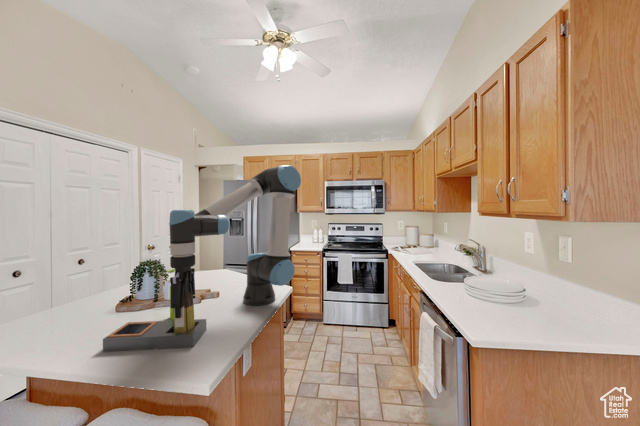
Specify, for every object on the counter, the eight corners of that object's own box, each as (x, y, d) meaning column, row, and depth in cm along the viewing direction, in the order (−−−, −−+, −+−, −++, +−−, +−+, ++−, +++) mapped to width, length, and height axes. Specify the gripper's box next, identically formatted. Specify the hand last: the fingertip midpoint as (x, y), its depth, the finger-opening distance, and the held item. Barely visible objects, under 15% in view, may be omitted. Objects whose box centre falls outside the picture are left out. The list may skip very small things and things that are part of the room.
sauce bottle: (192, 330, 92) (191, 275, 92) (196, 336, 87) (195, 278, 87) (172, 335, 88) (171, 278, 88) (175, 343, 83) (174, 282, 83)
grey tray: (206, 329, 94) (206, 318, 94) (193, 347, 82) (193, 333, 82) (128, 333, 91) (128, 321, 91) (102, 351, 79) (102, 338, 79)
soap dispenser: (164, 318, 104) (164, 269, 103) (180, 312, 110) (180, 266, 110) (173, 321, 101) (172, 271, 101) (189, 315, 107) (189, 267, 107)
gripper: (183, 250, 96) (184, 311, 97) (156, 260, 77) (157, 336, 78) (204, 250, 97) (205, 310, 97) (181, 260, 78) (183, 335, 78)
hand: (184, 322), depth 88 cm, fingers closed on sauce bottle, 6 cm apart
